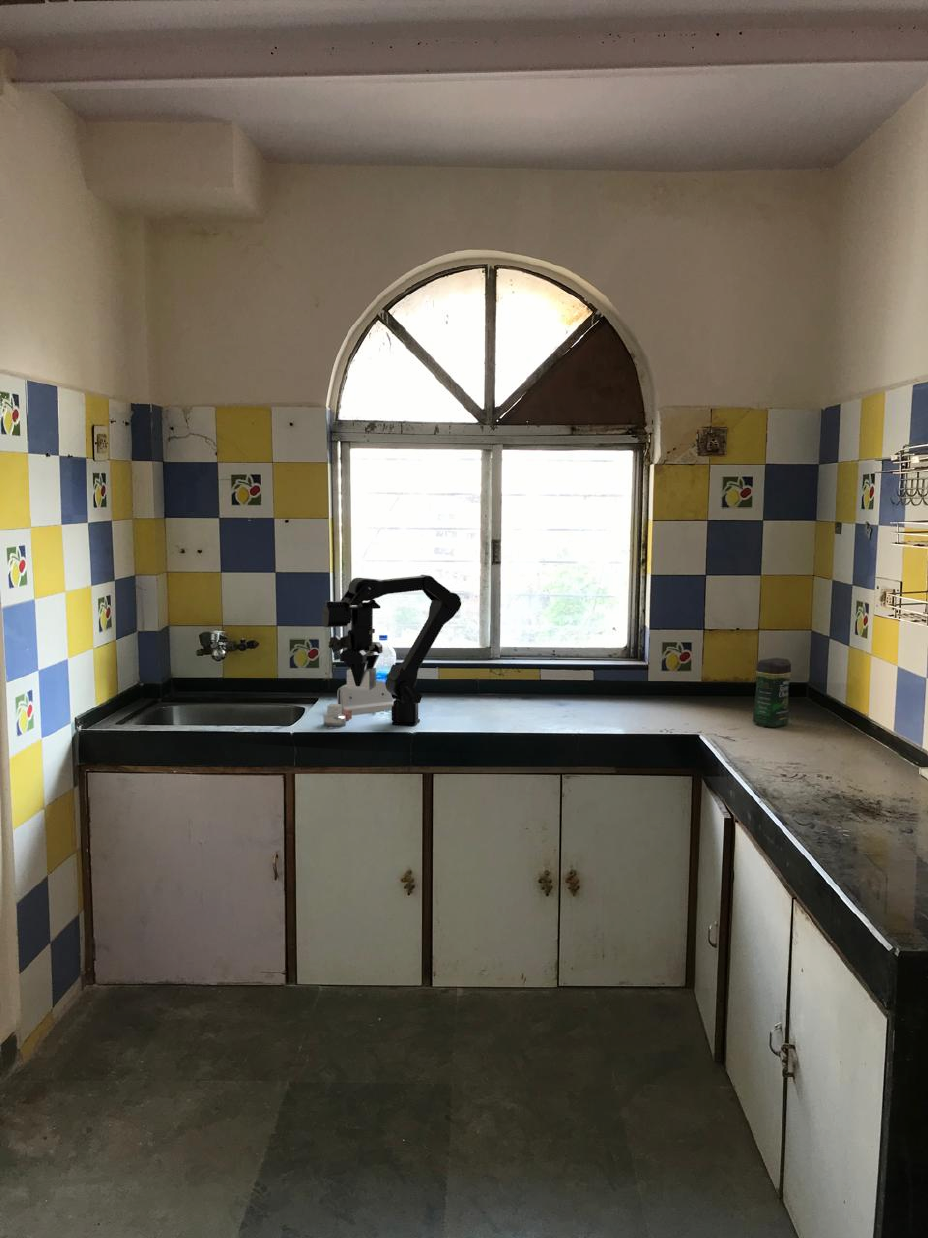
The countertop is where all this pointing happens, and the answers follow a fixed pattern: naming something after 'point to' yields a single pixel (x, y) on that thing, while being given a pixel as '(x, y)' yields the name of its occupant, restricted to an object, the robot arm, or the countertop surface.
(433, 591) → the robot arm
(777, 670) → the coffee jar
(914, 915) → the countertop surface
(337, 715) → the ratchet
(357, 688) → the grey cube
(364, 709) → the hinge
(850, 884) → the countertop surface
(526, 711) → the countertop surface
